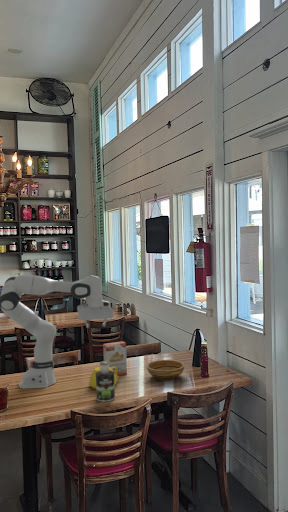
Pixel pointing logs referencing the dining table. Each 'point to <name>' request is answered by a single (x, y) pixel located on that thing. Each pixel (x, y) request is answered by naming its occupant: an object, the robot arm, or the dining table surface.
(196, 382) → the dining table surface
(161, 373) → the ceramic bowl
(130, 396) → the dining table surface
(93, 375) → the teapot
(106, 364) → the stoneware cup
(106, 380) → the coffee can
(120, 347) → the cracker box
